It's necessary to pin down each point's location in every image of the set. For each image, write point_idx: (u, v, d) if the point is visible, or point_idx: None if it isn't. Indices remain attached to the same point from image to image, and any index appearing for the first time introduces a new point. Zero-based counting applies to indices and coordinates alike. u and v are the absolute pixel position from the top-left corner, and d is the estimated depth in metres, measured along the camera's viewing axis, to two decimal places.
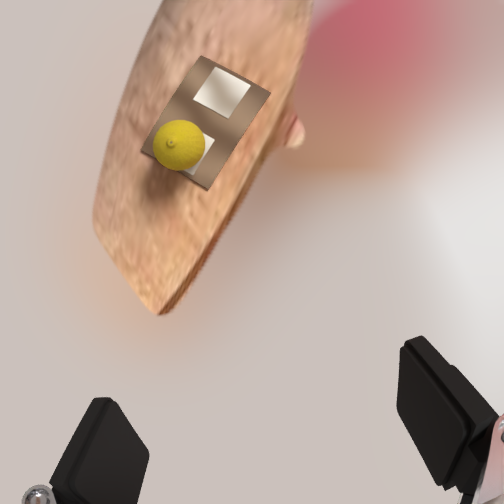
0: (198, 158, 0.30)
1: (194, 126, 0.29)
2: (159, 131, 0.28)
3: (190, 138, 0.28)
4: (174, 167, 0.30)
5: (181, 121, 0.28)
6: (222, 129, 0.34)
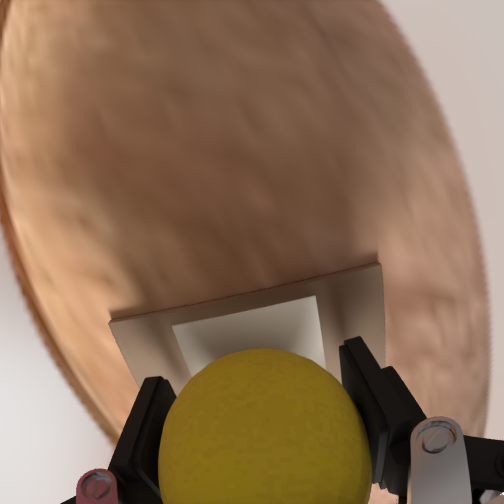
0: None
1: None
2: None
3: None
4: (187, 468, 0.05)
5: None
6: None
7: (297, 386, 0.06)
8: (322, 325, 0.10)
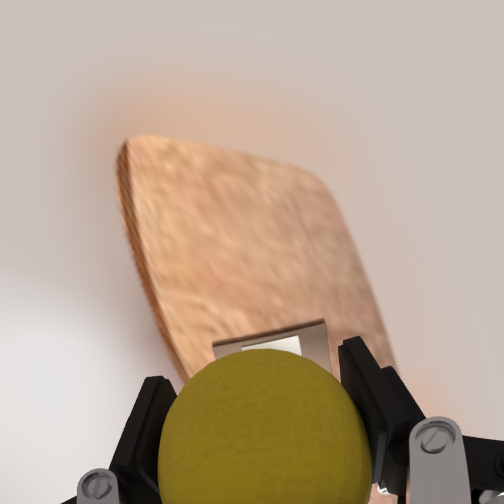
0: None
1: None
2: None
3: None
4: (186, 469, 0.05)
5: None
6: None
7: (297, 386, 0.06)
8: (301, 346, 0.26)
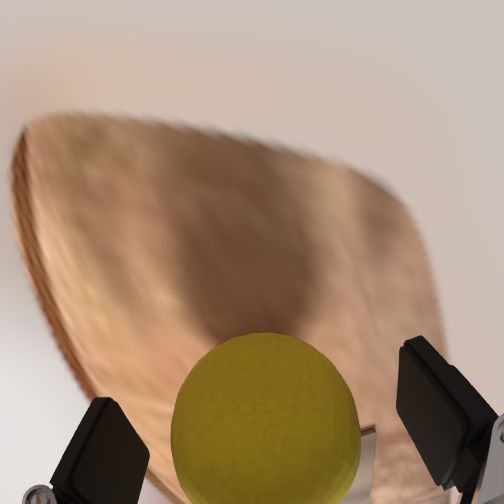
0: None
1: None
2: (350, 486, 0.06)
3: None
4: (199, 432, 0.06)
5: None
6: None
7: (293, 361, 0.07)
8: None
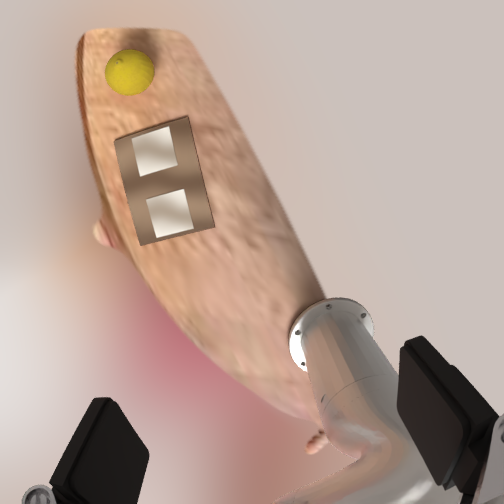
0: None
1: (123, 90, 0.28)
2: (139, 62, 0.26)
3: (112, 79, 0.26)
4: None
5: (132, 83, 0.27)
6: (142, 188, 0.36)
7: None
8: (171, 135, 0.34)
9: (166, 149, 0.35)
